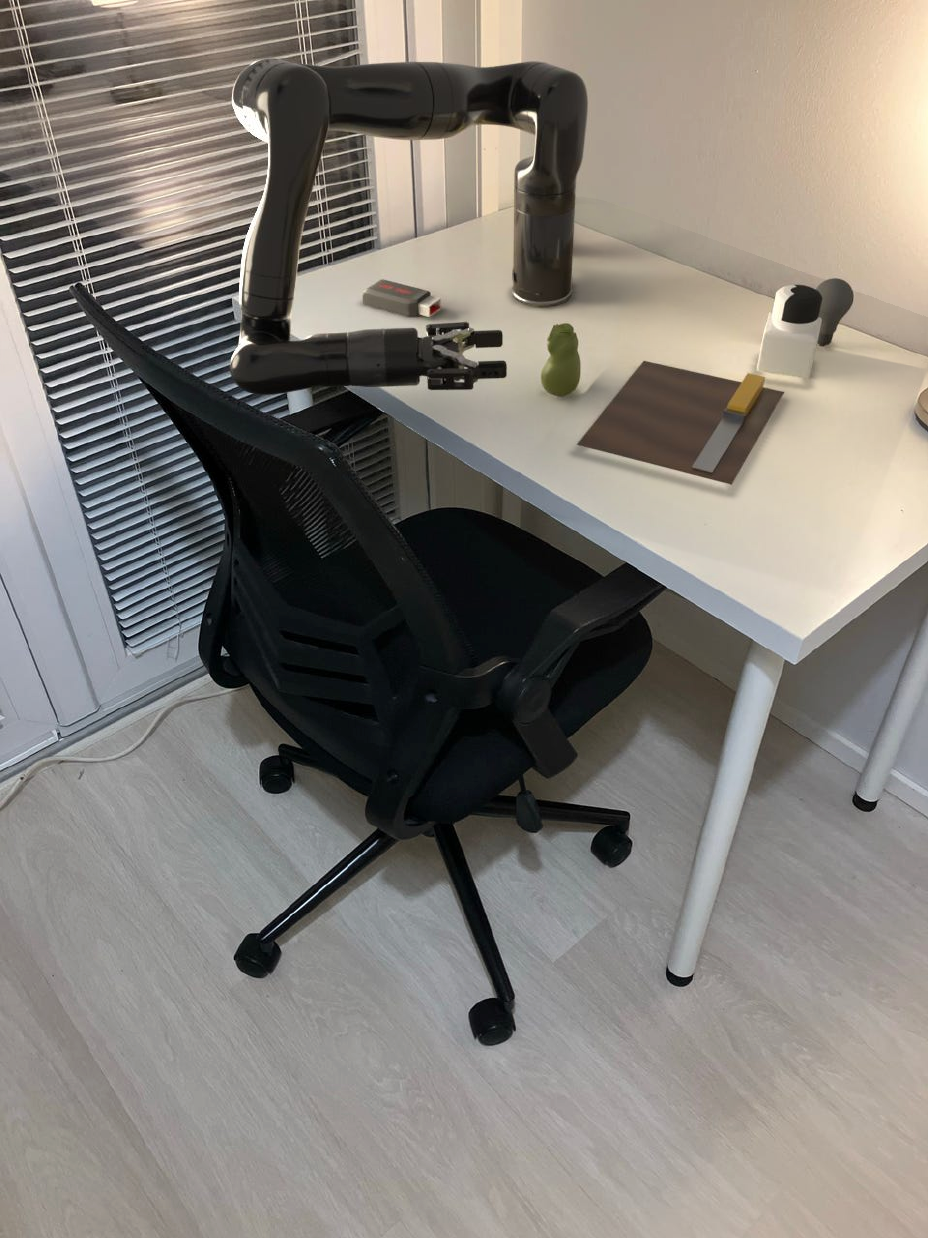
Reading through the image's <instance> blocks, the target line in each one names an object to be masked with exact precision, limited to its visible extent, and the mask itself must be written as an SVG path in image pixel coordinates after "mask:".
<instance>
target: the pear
mask: <svg viewBox="0 0 928 1238" xmlns="http://www.w3.org/2000/svg"><path fill="white" fill-rule="evenodd" d="M546 339H547V341H546V342H547V343H546V348H547V351H548V353H549V357H548V359H547V361H546V362H545V364H544V366H543V368H542V369H541V373H540V381H541V385H542V387H543V389H544V390H545V392H547V393H548V394H550V395H552V396H554V397H555V396H556V397H566V396H568V395H571V394H572V393H574V392H575V390H576V389H577V388H578V386H579V383H580V379H581V367H582V366H581V357H580V354H579V339H578V335H577V332H575V329H574V326H572V324H570V323H568V322H565V323H559V324H557V323H556V324H553V326H552V328H551V330H550V332H549V334H548V336H547V338H546Z"/></svg>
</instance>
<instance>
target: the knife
mask: <svg viewBox="0 0 928 1238" xmlns="http://www.w3.org/2000/svg"><path fill="white" fill-rule="evenodd" d="M765 380H766V377H765V376H763V375H758V374H754V373H749V372H748V373H746V376H744V378H743V380H742V381H741V382H742V383H741V385H740V386H739V388H738V389H737V391H736V392H735V394H734V395H733V397H732V399H731V400H730V402H729V403H728V406H727V408H725V410H724V413H723V419H722V420H721V422H720V423H719V425H718V427H717V428H716V430H715V431H714V433H713V434H712V436H711V438H710V439H709V441H708V442H707V444H706V445H705V447H704V449H703V450H702V452H701V453H700V455H699V456H698V458H697V460H696V461H695V463H694V464H693V466H692V469H694V470H698V471H702V472H705V473H709V474H712V473H713V472H714V470H715V468H716V467H717V465H718V464H719V462H720V460H721V459H722V457H723V455H724V454H725V452H726V450H727V449H728V447H729V445H730V444H731V442H732V440H733V439H734V437H735V435H736V434H737V432H738V430H739V429H740V427H741V426H742V424H743V423H744V422H745V420H746V416H747V414H748V412H749V411H750V409H751V408H752V406H753V404H754V403H755V401H756V399H757V398H758V396H759V394H760V393H761V391H762V389H763V387H765V386H764V385H765Z"/></svg>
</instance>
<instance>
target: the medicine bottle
mask: <svg viewBox="0 0 928 1238" xmlns="http://www.w3.org/2000/svg"><path fill="white" fill-rule="evenodd" d="M821 303H822V295H821V294H820V292H819V291H817V290H816V288H814V287H812V286H808V285H804V284H789V285H785V286H783V287H781V288H779V289H778V290H777V291H776V292H775V298H774V303H773V309H772V310H771V311H769V313H768V316H767V320H766V324H765V326H764V330H763V333H762V337H761V338H762V339H761V344H760V350H759V354H758V359H757V365H756V371H757V372H761V373H766V374H775V375H781V376H788V377H795V378H796V377H797V378H802V379H809V378H810V377H811V374H812V368H813V364H814V359H815V356H816V355H815V354H816V349H817V345H818V344H817V342H818V337H819V332H820V327H821V322H822V319H821V318H820V317H819V312H820V308H821Z"/></svg>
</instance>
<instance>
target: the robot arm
mask: <svg viewBox="0 0 928 1238" xmlns="http://www.w3.org/2000/svg"><path fill="white" fill-rule="evenodd" d="M231 102H232V107H233V109H234V113H235V115H236V117H237V119H238V120H239V122H240V123H241V124H242V125H243V127H244V128H245V129H246V130H247V131H248V132H250V133H251V134H252V135H253V136H255V137H257V138H258V139H259V140H261V141H264V142H267V144H268V166H267V176H266V183H265V187H264V191H263V195H262V198H261V200H260V202H259V203H260V204H259V206H258V208H257V211H256V212H255V215H254V218H253V220H252V222H251V224H250V226H249V230H248V232H247V235H246V237H245V241H244V245H243V250H242V257H241V265H240V266H241V267H240V278H239V290H238V305H239V308H240V310H241V317H240V327H239V337H238V342H237V347H236V348H235V350H234V351H233V353H232V355H231V358H230V360H229V361H230V362H229V373H230V375H231V378H232V380H233V382H234V384H235V385H236V386H237V387H239V388H240V389H241V390H242V391H244V392H246V393H249V394H252V395H257V396H258V395H259V396H272V395H273V396H274V395H280V394H287V393H292V392H293V393H294V392H298V391H303V390H307V389H312V388H319V387H320V388H321V387H322V388H331V387H332V388H334V387H360V388H387V387H388V388H389V387H411V386H414V387H415V386H418V385H419V384H420V382H421V377H426V383H427V389H428V390H429V391H471V390H473V389H474V384H475V383H477V382H479V380H488V379H489V380H490V379H491V380H492V379H493V380H494V379H495V380H496V379H505V378H506V377H507V375H508V366H507V362H506V360H479V361H477V362H476V361H474V360H471V359H468V358H466V357H465V356H464V352H466V351H468V350H471V349H473V348H475V349H487V348H501V347H502V346H503V345H504V344H503V343H504V341H503V339H504V338H503V337H504V336H503V331H502V330H501V329H490V330H475V329H474V328H473V327H470V323H469V322H468V321H460V322H459V321H458V322H443V323H442V322H441V323H428V324H427V325H425V336H422V337H419V332H418V330H417V328H416V327H394V328H368V329H360V330H353V331H339V332H338V331H336V332H320V333H314V334H310V335H308V336H307V337H305V338H303V339H299V340H291V339H292V337H291V336H292V335H291V334H292V333H291V332H292V331H291V330H292V311H293V306H294V300H295V293H296V284H297V275H298V267H299V258H300V250H301V243H302V236H303V232H304V227H305V223H306V218H307V213H308V209H309V206H310V205H309V204H310V201H311V198H312V194H313V190H314V186H315V182H316V178H317V174H318V171H319V170H318V169H319V167H320V163H321V159H322V156H323V151H324V148H325V145H326V142H327V137H328V133H329V132H330V131H335V132H336V131H337V132H348V133H352V134H358V135H364V136H369V137H374V138H381V139H389V140H398V141H399V140H400V141H432V140H433V141H435V140H443V139H448V138H452V137H455V136H458V135H459V134H461V133H463V132H465V131H466V130H468V129H471V128H472V127H476V126H480V125H481V126H483V125H484V126H485V125H490V126H501V127H508V128H513V129H517V130H520V131H523V132H525V133H528V134H529V135H533V136H534V148H533V154H532V155H531V156H528V157H525V158H523V159H521V160H520V161H518V162H517V163H516V165H515V167H514V174H513V176H514V178H513V179H514V180H513V181H514V182H513V183H514V184H513V186H514V187H513V192H514V193H513V258H512V259H513V260H512V261H513V263H512V272H511V281H512V287H511V288H512V290H511V294H512V297H513V298H514V299H515V300H516V301H518V302H520V303H522V304H524V305H528V306H532V307H552V306H557V305H560V304H563V303H565V302H567V301H568V300H569V299H570V298H571V297H572V279H573V278H572V274H573V261H574V260H573V258H574V257H573V256H574V241H575V240H574V237H575V217H576V199H577V197H576V195H577V181H578V180H577V179H578V175H579V171H580V169H581V166H582V163H583V159H584V154H585V143H586V133H587V125H588V124H587V123H588V115H589V95H588V90H587V87H586V83H585V81H584V79H583V78H582V77H581V76H580V75H579V74H578V73H576V72H574V71H573V70H569V69H566V68H562V67H560V66H557V65H554V64H551V63H547V62H544V61H536V60H531V61H523V62H515V63H509V64H501V65H494V66H473V65H469V64H461V63H453V62H452V63H449V62H440V61H439V62H437V61H398V62H397V61H396V62H379V63H378V62H377V63H365V64H355V65H347V66H346V65H344V66H327V65H326V66H325V65H317V64H308V63H300V62H294V61H288V60H285V59H280V58H274V57H269V58H268V57H267V58H263V59H259V60H256V61H254V62H253V63H250V64H249V65H248V66H246V67H245V68H244V69H243V70H242V71H241V72H240V73H239V75H238V76H237V78H236V80H235V82H234V84H233V88H232V95H231ZM461 380H463V381H461Z"/></svg>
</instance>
